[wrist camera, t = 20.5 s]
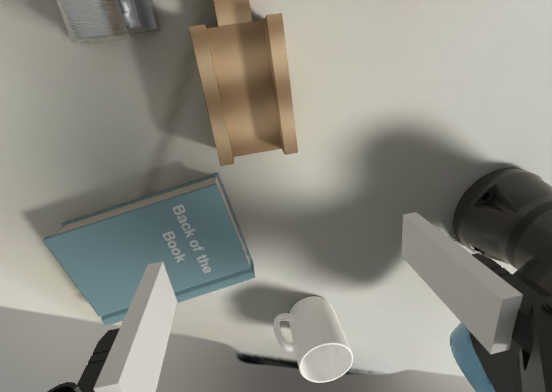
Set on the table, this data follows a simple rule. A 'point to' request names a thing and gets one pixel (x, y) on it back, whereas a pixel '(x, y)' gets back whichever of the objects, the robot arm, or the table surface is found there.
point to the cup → (316, 339)
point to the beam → (245, 81)
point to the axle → (93, 20)
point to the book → (155, 246)
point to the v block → (139, 16)
